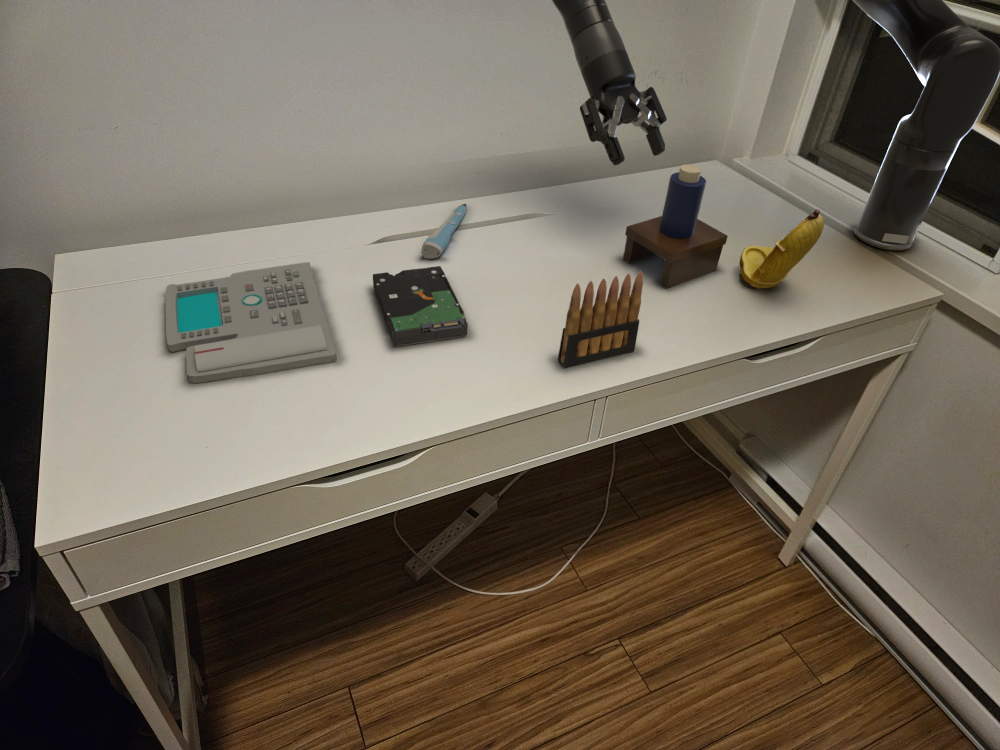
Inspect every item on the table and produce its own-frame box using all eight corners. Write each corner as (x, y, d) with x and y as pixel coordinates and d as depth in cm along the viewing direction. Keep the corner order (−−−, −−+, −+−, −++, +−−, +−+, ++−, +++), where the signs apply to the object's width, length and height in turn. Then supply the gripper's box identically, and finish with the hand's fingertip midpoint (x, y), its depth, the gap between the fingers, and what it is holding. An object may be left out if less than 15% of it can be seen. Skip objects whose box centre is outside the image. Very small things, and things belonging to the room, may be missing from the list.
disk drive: (372, 290, 101) (393, 349, 90) (370, 273, 99) (392, 331, 89) (440, 280, 104) (469, 336, 93) (440, 264, 102) (469, 319, 92)
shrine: (811, 301, 104) (848, 209, 95) (766, 309, 102) (798, 215, 93) (766, 263, 113) (796, 175, 103) (723, 269, 110) (749, 180, 101)
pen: (439, 262, 108) (439, 246, 106) (419, 259, 108) (419, 242, 107) (472, 209, 123) (473, 194, 121) (455, 206, 123) (455, 191, 121)
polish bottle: (676, 220, 110) (690, 158, 103) (700, 233, 107) (716, 171, 100) (652, 227, 107) (665, 165, 101) (676, 241, 104) (691, 178, 98)
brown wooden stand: (673, 242, 117) (681, 209, 113) (718, 269, 110) (728, 235, 107) (620, 260, 111) (626, 226, 107) (664, 289, 105) (672, 254, 101)
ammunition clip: (627, 343, 94) (643, 266, 86) (634, 351, 93) (651, 273, 85) (557, 360, 90) (567, 281, 83) (563, 368, 89) (574, 289, 81)
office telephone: (337, 345, 86) (164, 375, 80) (339, 362, 88) (169, 392, 82) (308, 253, 103) (162, 273, 97) (310, 269, 105) (167, 289, 98)
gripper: (580, 52, 102) (620, 155, 102) (651, 42, 108) (688, 139, 109) (555, 80, 109) (592, 176, 109) (623, 69, 115) (658, 160, 115)
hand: (640, 158), depth 109 cm, fingers open, 8 cm apart
